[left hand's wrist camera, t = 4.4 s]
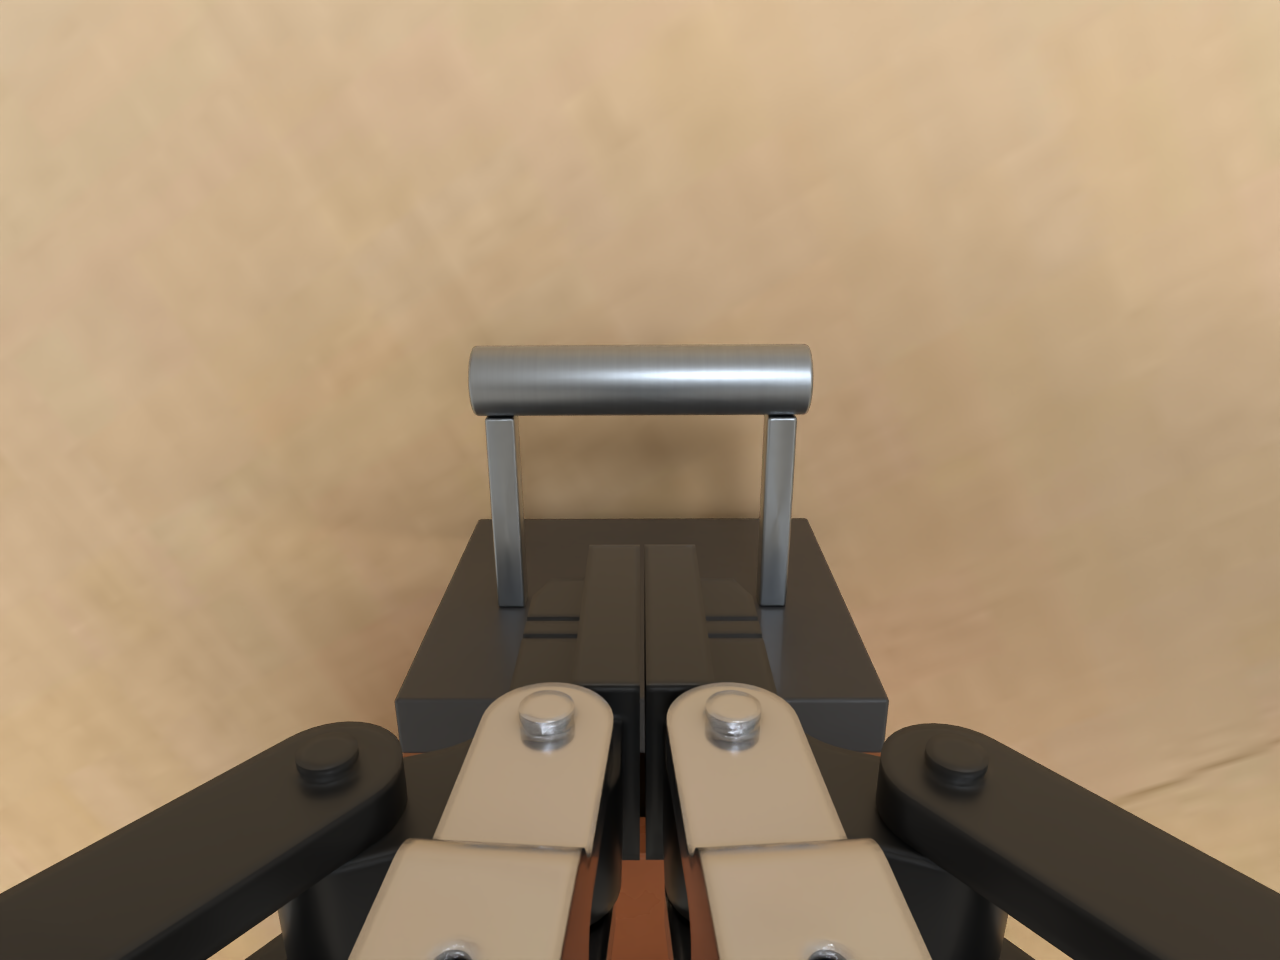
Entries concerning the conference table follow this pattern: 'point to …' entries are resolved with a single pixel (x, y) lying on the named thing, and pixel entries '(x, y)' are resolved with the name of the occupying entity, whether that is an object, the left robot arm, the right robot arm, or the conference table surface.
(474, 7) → the conference table surface
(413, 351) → the conference table surface
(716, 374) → the drawer
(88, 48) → the conference table surface
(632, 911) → the cabinet
